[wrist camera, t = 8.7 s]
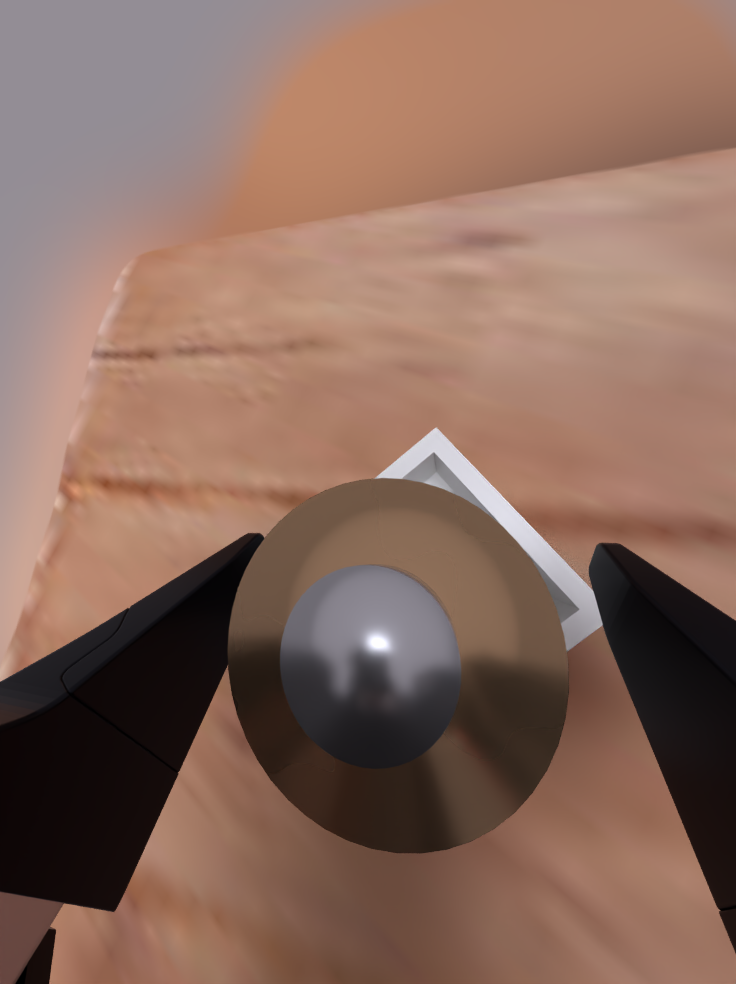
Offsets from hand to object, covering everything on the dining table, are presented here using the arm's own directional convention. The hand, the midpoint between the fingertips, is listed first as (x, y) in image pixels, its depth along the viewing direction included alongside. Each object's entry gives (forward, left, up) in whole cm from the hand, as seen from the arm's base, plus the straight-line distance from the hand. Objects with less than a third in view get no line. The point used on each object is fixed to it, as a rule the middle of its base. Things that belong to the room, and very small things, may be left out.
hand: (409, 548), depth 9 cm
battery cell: (-1, -1, -8) cm, 8 cm away
